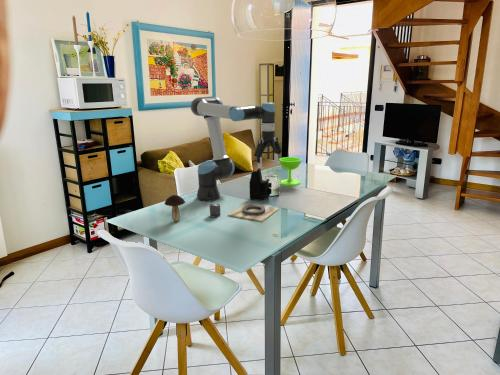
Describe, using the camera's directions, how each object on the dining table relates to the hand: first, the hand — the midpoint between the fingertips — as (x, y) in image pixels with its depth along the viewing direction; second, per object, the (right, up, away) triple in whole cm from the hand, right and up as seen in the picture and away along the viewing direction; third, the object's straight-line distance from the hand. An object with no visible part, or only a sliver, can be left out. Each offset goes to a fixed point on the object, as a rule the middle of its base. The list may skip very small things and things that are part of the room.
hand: (268, 166), depth 212 cm
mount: (-9, -27, -5) cm, 29 cm away
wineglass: (+19, -10, +53) cm, 57 cm away
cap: (-31, -28, -8) cm, 42 cm away
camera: (-4, -20, +19) cm, 28 cm away
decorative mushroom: (-51, -31, -16) cm, 62 cm away
